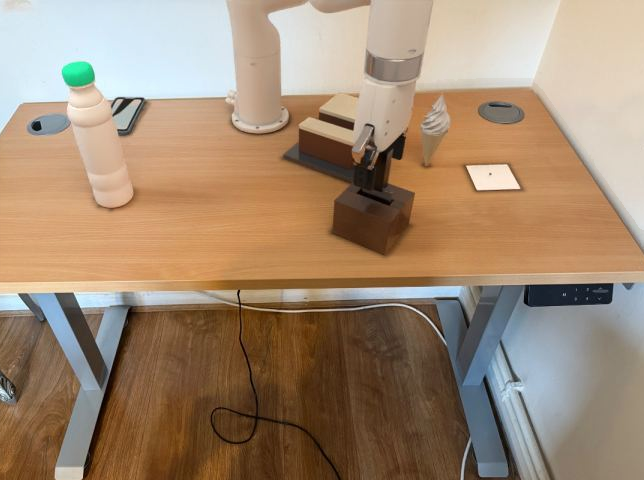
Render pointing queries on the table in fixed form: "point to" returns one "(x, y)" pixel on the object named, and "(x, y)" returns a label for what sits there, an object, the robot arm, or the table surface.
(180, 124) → the table surface
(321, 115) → the cake
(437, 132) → the ice cream cone
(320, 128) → the cake slice
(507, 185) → the coaster
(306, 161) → the cake board
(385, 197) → the knife
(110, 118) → the water bottle
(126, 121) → the smartphone
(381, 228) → the knife block
